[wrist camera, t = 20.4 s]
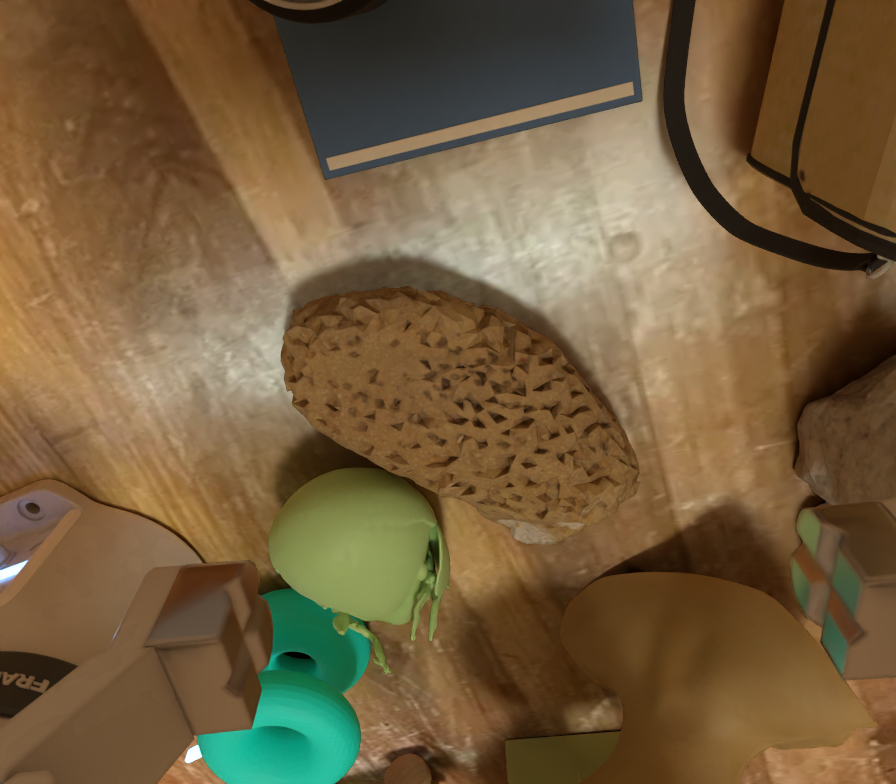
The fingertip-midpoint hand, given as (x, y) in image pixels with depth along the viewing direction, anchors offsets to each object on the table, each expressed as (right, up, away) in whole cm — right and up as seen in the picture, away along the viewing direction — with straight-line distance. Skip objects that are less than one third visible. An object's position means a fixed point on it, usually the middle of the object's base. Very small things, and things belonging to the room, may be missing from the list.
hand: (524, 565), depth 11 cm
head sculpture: (+20, -13, +40) cm, 46 cm away
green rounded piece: (-12, -7, +32) cm, 35 cm away
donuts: (-10, -13, +35) cm, 38 cm away
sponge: (0, +3, +32) cm, 32 cm away
